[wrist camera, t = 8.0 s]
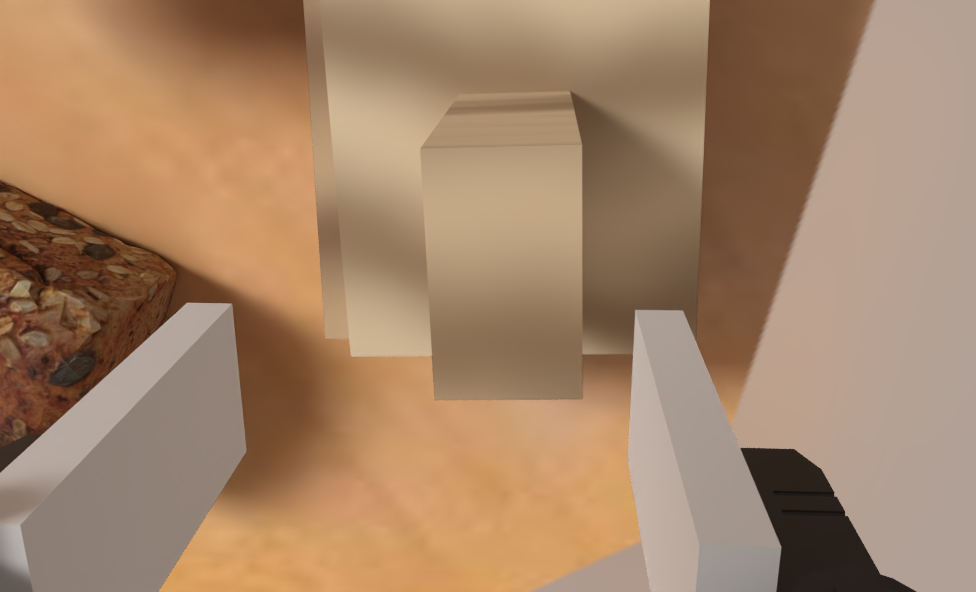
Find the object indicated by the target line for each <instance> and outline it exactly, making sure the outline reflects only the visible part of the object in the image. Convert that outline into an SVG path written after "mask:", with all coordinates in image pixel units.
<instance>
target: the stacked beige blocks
mask: <svg viewBox="0 0 976 592" xmlns="http://www.w3.org/2000/svg"><path fill="white" fill-rule="evenodd" d="M319 2H320V14H321V25H322V36H323V48H324V59H325V70H326V82H327V93H328V105H329V116H330V127H331V139H332V150H333V161H334V173H335V184H336V195H337V207H338V218H339V229H340V241H341V252H342V264H343V275H344V286H345V298H346V309H347V320H348V332H349V343H350V354H351V357H375V356H432V364H433V382H434V399H435V400H558V399H583V381H582V355H584V354H633V346H634V327H635V310H680V311H683V312H684V314H685V317H686V319H687V321H688V324H689V326H690V329H691V331H692V334H693V336H694V338H695V341H696V328H697V304H698V279H699V255H700V230H701V206H702V181H703V157H704V132H705V107H706V83H707V58H708V34H709V9H710V0H319Z"/></svg>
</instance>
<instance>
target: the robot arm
mask: <svg viewBox="0 0 976 592" xmlns="http://www.w3.org/2000/svg"><path fill="white" fill-rule="evenodd" d="M246 452H247V450H246V439H245V429H244V419H243V409H242V399H241V388H240V378H239V368H238V358H237V348H236V337H235V327H234V317H233V307H232V303H186V304H185V305H184V306H183V307H182V308H181V309H180V310H179V311H177V312H176V313H175V314H174V315H173V316H172V317H171V318H170V319H169V320H168V321H167V322H165V323H164V324H163V325H162V326H161V327H160V328H159V329H158V330H157V331H156V332H154V333H153V334H152V335H151V336H150V337H149V338H148V339H147V340H146V341H145V342H143V343H142V344H141V345H140V346H139V347H138V348H137V349H136V350H135V351H134V352H132V353H131V354H130V355H129V356H128V357H127V358H126V359H125V360H124V361H123V362H121V363H120V364H119V365H118V366H117V367H116V368H115V369H114V370H113V371H112V372H110V373H109V374H108V375H107V376H106V377H105V378H104V379H103V380H102V381H101V382H100V383H98V384H97V385H96V386H95V387H94V388H93V389H92V390H91V391H90V392H89V393H87V394H86V395H85V396H84V397H83V398H82V399H81V400H80V401H79V402H78V403H76V404H75V405H74V406H73V407H72V408H71V409H70V410H69V411H68V412H67V413H65V414H64V415H63V416H62V417H61V418H60V419H59V420H58V421H57V422H56V423H54V424H53V425H52V426H51V427H50V428H49V429H48V430H47V431H46V432H45V433H43V434H28V435H26V436H24V437H22V438H20V439H18V440H16V441H14V442H12V443H10V444H8V445H5V446H3V447H1V448H0V592H159V590H160V588H161V587H162V585H163V584H164V582H165V581H166V579H167V577H168V576H169V574H170V573H171V571H172V569H173V568H174V566H175V565H176V563H177V561H178V560H179V558H180V557H181V555H182V553H183V552H184V550H185V549H186V547H187V545H188V544H189V542H190V541H191V539H192V538H193V536H194V534H195V533H196V531H197V530H198V528H199V526H200V525H201V523H202V522H203V520H204V518H205V517H206V515H207V514H208V512H209V510H210V509H211V507H212V506H213V504H214V503H215V501H216V499H217V498H218V496H219V495H220V493H221V491H222V490H223V488H224V487H225V485H226V483H227V482H228V480H229V479H230V477H231V475H232V474H233V472H234V471H235V469H236V468H237V466H238V464H239V463H240V461H241V460H242V458H243V456H244V455H245V453H246ZM628 465H629V471H630V477H631V482H632V488H633V494H634V500H635V506H636V511H637V517H638V523H639V529H640V535H641V540H642V546H643V552H644V558H645V563H646V569H647V575H648V581H649V587H650V592H916V591H914V590H912V589H911V588H909V587H907V586H905V585H903V584H902V583H900V582H898V581H896V580H895V579H893V578H889V577H886V576H883V575H880V573H879V571H878V569H877V568H876V566H875V564H874V562H873V560H872V559H871V557H870V555H869V553H868V552H867V550H866V548H865V546H864V544H863V543H862V541H861V539H860V537H859V536H858V534H857V532H856V530H855V528H854V527H853V525H852V523H851V521H850V520H849V518H848V516H845V511H844V509H843V507H842V506H841V504H840V502H839V500H838V498H837V497H834V491H833V489H832V488H831V486H830V484H829V482H828V480H827V479H826V477H825V475H824V473H823V472H822V470H821V469H820V468H819V467H817V466H816V465H815V464H813V463H812V462H811V461H809V460H808V459H807V458H805V457H804V456H803V455H801V454H800V453H798V452H797V451H796V450H794V449H765V448H740V447H739V444H738V442H737V439H736V437H735V435H734V432H733V430H732V427H731V425H730V423H729V420H728V418H727V415H726V413H725V411H724V408H723V406H722V403H721V401H720V398H719V396H718V394H717V391H716V389H715V386H714V384H713V382H712V379H711V377H710V374H709V372H708V370H707V367H706V365H705V362H704V360H703V358H702V355H701V353H700V350H699V348H698V346H697V343H696V341H695V338H694V336H693V334H692V331H691V329H690V326H689V324H688V321H687V319H686V317H685V314H684V312H683V311H680V310H635V327H634V346H633V366H632V386H631V406H630V426H629V446H628Z"/></svg>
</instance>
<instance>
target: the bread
mask: <svg viewBox="0 0 976 592" xmlns="http://www.w3.org/2000/svg"><path fill="white" fill-rule="evenodd" d="M176 276H177V273H176V272H175V270H174V269H173V268H172V267H171V266H170V265H169V264H168V263H167V262H165V261H164V260H163V259H162V258H160V257H159V256H158V255H157V254H155V253H152V252H149V251H146V250H143V249H140V248H137V247H133V246H129V245H125V244H123V243H122V242H121V241H120V240H118V239H115V238H113V237H111V236H109V235H106V234H104V233H102V232H100V231H98V230H95V229H93V228H92V227H91V226H89V225H87V224H86V223H84V222H82V221H81V220H79V219H77V218H75V217H73V216H71V215H70V214H68V213H66V212H62V211H58V210H57V209H56V207H54V206H53V205H49V204H45V203H42V202H40V201H39V200H37V199H35V198H33V197H31V196H29V195H26V194H24V193H23V192H21V191H19V190H18V189H16V188H14V187H13V186H6V185H4V184H2V183H1V182H0V448H1V447H3V446H5V445H8V444H10V443H12V442H14V441H16V440H18V439H20V438H22V437H24V436H26V435H28V434H43V433H45V432H46V431H47V430H48V429H49V428H50V427H51V426H52V425H53V424H54V423H56V422H57V421H58V420H59V419H60V418H61V417H62V416H63V415H64V414H65V413H67V412H68V411H69V410H70V409H71V408H72V407H73V406H74V405H75V404H76V403H78V402H79V401H80V400H81V399H82V398H83V397H84V396H85V395H86V394H87V393H89V392H90V391H91V390H92V389H93V388H94V387H95V386H96V385H97V384H98V383H100V382H101V381H102V380H103V379H104V378H105V377H106V376H107V375H108V374H109V373H110V372H112V371H113V370H114V369H115V368H116V367H117V366H118V365H119V364H120V363H121V362H123V361H124V360H125V359H126V358H127V357H128V356H129V355H130V354H131V353H132V352H134V351H135V350H136V349H137V348H138V347H139V346H140V345H141V344H142V343H143V342H145V341H146V340H147V339H148V338H149V337H150V336H151V335H152V334H153V333H154V332H156V331H157V330H158V329H159V328H160V327H161V326H162V325H163V323H164V320H165V317H166V314H167V311H168V308H169V305H170V302H171V298H172V295H173V291H174V288H175V283H176Z"/></svg>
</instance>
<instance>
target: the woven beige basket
mask: <svg viewBox="0 0 976 592" xmlns="http://www.w3.org/2000/svg"><path fill="white" fill-rule="evenodd" d="M303 5H304V21H305V36H306V52H307V67H308V82H309V98H310V113H311V129H312V144H313V159H314V175H315V190H316V206H317V221H318V236H319V252H320V267H321V283H322V298H323V313H324V329H325V339H349V332H348V320H347V309H346V298H345V286H344V275H343V264H342V252H341V241H340V229H339V218H338V207H337V195H336V184H335V173H334V161H333V150H332V139H331V127H330V116H329V105H328V93H327V82H326V70H325V59H324V48H323V36H322V25H321V14H320V2H319V0H303Z"/></svg>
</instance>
